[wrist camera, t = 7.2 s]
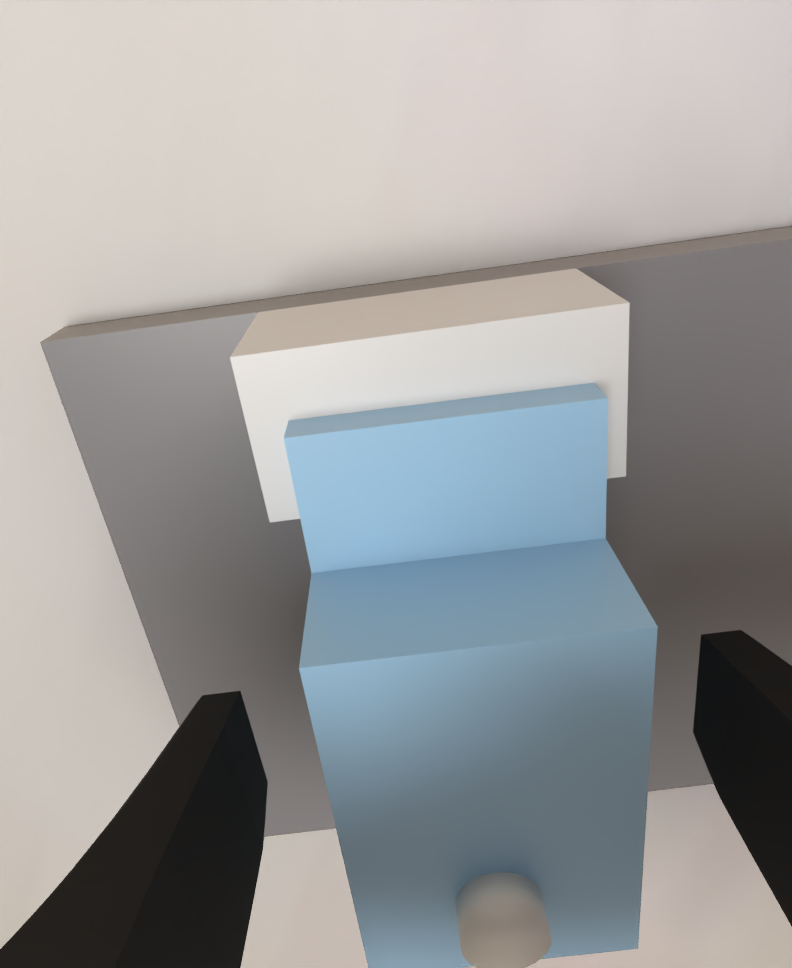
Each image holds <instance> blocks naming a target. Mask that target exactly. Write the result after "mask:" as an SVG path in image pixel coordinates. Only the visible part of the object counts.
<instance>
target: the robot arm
mask: <svg viewBox="0 0 792 968" xmlns="http://www.w3.org/2000/svg"><path fill="white" fill-rule="evenodd" d="M693 734H694V736H695V739H696V741H697V744H698V746H699V749H700V751H701V754H702V756H703V759H704V761H705V764H706V766H707V769H708V771H709V773H710V776H711V778H712V780H713V783H714V785H715V787H716V790H717V792H718V794H719V796H720V798H721V800H722V802H723V804H724V806H725V808H726V809H727V811H728V813H729V815H730V817H731V819H732V820H733V822H734V824H735V826H736V828H737V829H738V831H739V833H740V835H741V837H742V838H743V840H744V842H745V844H746V846H747V848H748V849H749V851H750V853H751V855H752V856H753V858H754V860H755V862H756V864H757V865H758V867H759V869H760V871H761V872H762V874H763V876H764V878H765V880H766V881H767V883H768V885H769V887H770V888H771V890H772V892H773V894H774V896H775V897H776V899H777V901H778V903H779V905H780V906H781V908H782V910H783V912H784V913H785V915H786V917H787V919H788V921H789V922H790V924H791V926H792V666H791V665H790V664H788V663H787V662H786V661H784V660H783V659H782V658H780V657H779V656H777V655H776V654H775V653H773V652H772V651H770V650H769V649H768V648H766V647H765V646H763V645H762V644H761V643H759V642H758V641H756V640H755V639H754V638H752V637H751V636H749V635H748V634H746V633H745V632H743V631H742V630H735V631H726V632H718V633H710V634H702V635H701V640H700V652H699V665H698V677H697V689H696V701H695V713H694V725H693ZM267 787H268V781H267V778H266V774H265V771H264V768H263V764H262V761H261V758H260V754H259V751H258V748H257V744H256V741H255V738H254V734H253V731H252V728H251V724H250V721H249V718H248V714H247V711H246V708H245V704H244V701H243V698H242V694H241V691H234V692H225V693H217V694H209V695H202V696H201V698H200V699H199V700H198V701H197V703H196V704H195V705H194V707H193V708H192V710H191V711H190V712H189V714H188V715H187V717H186V718H185V720H184V721H183V722H182V724H181V725H180V727H179V728H178V730H177V731H176V733H175V734H174V735H173V737H172V738H171V740H170V741H169V743H168V744H167V745H166V747H165V748H164V750H163V751H162V753H161V754H160V755H159V757H158V758H157V760H156V761H155V762H154V764H153V765H152V767H151V768H150V769H149V771H148V772H147V774H146V775H145V776H144V778H143V779H142V780H141V782H140V783H139V784H138V786H137V787H136V788H135V790H134V791H133V792H132V794H131V795H130V796H129V798H128V799H127V801H126V802H125V803H124V805H123V806H122V807H121V809H120V810H119V811H118V813H117V814H116V815H115V817H114V818H113V819H112V820H111V822H110V823H109V824H108V826H107V827H106V828H105V829H104V831H103V832H102V833H101V834H100V835H99V837H98V838H97V839H96V840H95V842H94V843H93V844H92V845H91V847H90V848H89V849H88V850H87V852H86V853H85V854H84V855H83V857H82V858H81V859H80V860H79V861H78V863H77V864H76V865H75V866H74V868H73V869H72V870H71V871H70V873H69V874H68V875H67V876H66V877H65V878H64V880H63V881H62V882H61V883H60V884H59V885H58V887H57V888H56V889H55V890H54V891H53V892H52V894H51V895H50V896H49V897H48V898H47V899H46V900H45V901H44V903H43V904H42V905H41V906H40V907H39V908H38V909H37V910H36V912H35V913H34V914H33V915H32V916H31V917H30V918H29V919H28V920H27V921H26V922H25V924H24V925H23V926H22V927H21V928H20V929H19V930H18V931H17V932H16V933H15V934H14V935H13V937H12V938H11V939H10V940H9V941H8V942H7V943H6V944H5V945H4V946H3V947H2V948H1V949H0V968H240V966H241V961H242V956H243V951H244V946H245V940H246V935H247V930H248V925H249V920H250V915H251V909H252V904H253V899H254V894H255V888H256V883H257V878H258V872H259V867H260V861H261V856H262V850H263V841H264V829H265V817H266V802H267Z"/></svg>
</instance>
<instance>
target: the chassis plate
mask: <svg viewBox="0 0 792 968" xmlns="http://www.w3.org/2000/svg"><path fill="white" fill-rule="evenodd" d="M40 343H41V346H42V349H43V351H44V354H45V357H46V360H47V362H48V365H49V368H50V371H51V373H52V376H53V379H54V382H55V384H56V387H57V390H58V393H59V395H60V398H61V401H62V404H63V406H64V409H65V412H66V415H67V418H68V420H69V423H70V426H71V429H72V431H73V434H74V437H75V440H76V442H77V445H78V448H79V451H80V453H81V456H82V459H83V462H84V464H85V467H86V470H87V473H88V475H89V478H90V481H91V484H92V486H93V489H94V492H95V495H96V498H97V500H98V503H99V506H100V509H101V511H102V514H103V517H104V520H105V522H106V525H107V528H108V531H109V533H110V536H111V539H112V542H113V544H114V547H115V550H116V553H117V555H118V558H119V561H120V564H121V566H122V569H123V572H124V575H125V578H126V580H127V583H128V586H129V589H130V591H131V594H132V597H133V600H134V602H135V605H136V608H137V611H138V613H139V616H140V619H141V622H142V624H143V627H144V630H145V633H146V635H147V638H148V641H149V644H150V646H151V649H152V652H153V655H154V657H155V660H156V663H157V666H158V669H159V671H160V674H161V677H162V680H163V682H164V685H165V688H166V691H167V693H168V696H169V699H170V702H171V704H172V707H173V710H174V713H175V715H176V718H177V721H178V724H179V726H180V725H181V724H182V722H183V721H184V720H185V718H186V717H187V715H188V714H189V712H190V711H191V710H192V708H193V707H194V705H195V704H196V703H197V701H198V700H199V699H200V698H201V696H202V695H209V694H217V693H225V692H234V691H241V694H242V698H243V701H244V704H245V708H246V711H247V714H248V718H249V721H250V724H251V728H252V731H253V734H254V738H255V741H256V744H257V748H258V751H259V754H260V758H261V761H262V764H263V768H264V771H265V774H266V778H267V781H268V787H267V802H266V817H265V829H264V837H266V836H274V835H283V834H291V833H300V832H308V831H317V830H325V829H334V828H336V825H335V821H334V817H333V813H332V808H331V804H330V800H329V795H328V791H327V787H326V783H325V778H324V774H323V770H322V765H321V761H320V757H319V752H318V748H317V744H316V740H315V735H314V731H313V727H312V722H311V718H310V714H309V709H308V705H307V701H306V697H305V692H304V688H303V684H302V679H301V675H300V671H299V664H300V656H301V649H302V641H303V633H304V626H305V618H306V611H307V603H308V596H309V588H310V580H311V568H310V564H309V559H308V554H307V549H306V544H305V539H304V534H303V530H302V525H301V520H300V515H299V510H298V505H297V500H296V496H295V491H294V486H293V481H292V476H291V471H290V467H289V462H288V457H287V452H286V447H285V442H284V435H285V432H286V428H287V425H288V421H289V420H296V419H304V418H312V417H321V416H329V415H337V414H345V413H353V412H361V411H369V410H377V409H385V408H393V407H401V406H409V405H417V404H426V403H434V402H442V401H450V400H458V399H466V398H474V397H482V396H490V395H498V394H506V393H514V392H523V391H531V390H539V389H547V388H555V387H563V386H571V385H579V384H587V383H595V384H596V385H597V386H598V387H599V389H600V390H601V391H602V392H603V393H604V394H605V395H606V396H607V397H608V437H607V491H606V540H607V541H608V543H609V545H610V546H611V548H612V550H613V552H614V553H615V555H616V557H617V558H618V560H619V562H620V563H621V565H622V567H623V569H624V570H625V572H626V574H627V575H628V577H629V579H630V580H631V582H632V584H633V586H634V587H635V589H636V591H637V592H638V594H639V596H640V597H641V599H642V601H643V603H644V604H645V606H646V608H647V609H648V611H649V613H650V615H651V616H652V618H653V620H654V621H655V623H656V625H657V626H658V629H657V645H656V661H655V678H654V694H653V711H652V727H651V743H650V760H649V776H648V791H656V790H664V789H673V788H681V787H690V786H698V785H707V784H714V783H713V780H712V778H711V776H710V773H709V771H708V769H707V766H706V764H705V761H704V759H703V756H702V754H701V751H700V749H699V746H698V744H697V741H696V739H695V736H694V734H693V725H694V713H695V701H696V689H697V677H698V665H699V652H700V640H701V635H702V634H710V633H718V632H726V631H735V630H742V631H743V632H745V633H746V634H748V635H749V636H751V637H752V638H754V639H755V640H756V641H758V642H759V643H761V644H762V645H763V646H765V647H766V648H768V649H769V650H770V651H772V652H773V653H775V654H776V655H777V656H779V657H780V658H782V659H783V660H784V661H786V662H787V663H788V664H790V665H791V666H792V226H789V227H782V228H775V229H768V230H760V231H753V232H746V233H739V234H732V235H724V236H717V237H710V238H703V239H696V240H688V241H681V242H674V243H667V244H659V245H652V246H645V247H638V248H631V249H623V250H616V251H609V252H602V253H595V254H587V255H580V256H573V257H566V258H558V259H551V260H544V261H537V262H530V263H522V264H515V265H508V266H501V267H494V268H486V269H479V270H472V271H465V272H457V273H450V274H443V275H436V276H429V277H421V278H414V279H407V280H400V281H393V282H385V283H378V284H371V285H364V286H356V287H349V288H342V289H335V290H328V291H320V292H313V293H306V294H299V295H292V296H284V297H277V298H270V299H263V300H255V301H248V302H241V303H234V304H227V305H219V306H212V307H205V308H198V309H191V310H183V311H176V312H169V313H162V314H154V315H147V316H140V317H133V318H126V319H118V320H111V321H104V322H97V323H90V324H82V325H75V326H68V327H64V328H62V329H61V330H59V331H58V332H56V333H54V334H53V335H51V336H50V337H48V338H46V339H45V340H43V341H42V342H40Z"/></svg>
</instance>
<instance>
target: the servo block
mask: <svg viewBox="0 0 792 968" xmlns="http://www.w3.org/2000/svg"><path fill="white" fill-rule="evenodd" d="M607 437H608V397H607V396H606V395H605V394H604V393H603V392H602V391H601V390H600V389H599V387H598V386H597V385H596V384H595V383H587V384H579V385H571V386H563V387H555V388H547V389H539V390H531V391H523V392H514V393H506V394H498V395H490V396H482V397H474V398H466V399H458V400H450V401H442V402H434V403H426V404H417V405H409V406H401V407H393V408H385V409H377V410H369V411H361V412H353V413H345V414H337V415H329V416H321V417H312V418H304V419H296V420H289V421H288V425H287V428H286V432H285V435H284V442H285V447H286V452H287V457H288V462H289V467H290V471H291V476H292V481H293V486H294V491H295V496H296V500H297V505H298V510H299V515H300V520H301V525H302V530H303V534H304V539H305V544H306V549H307V554H308V559H309V564H310V568H311V580H310V588H309V596H308V603H307V611H306V618H305V626H304V633H303V641H302V649H301V656H300V664H299V671H300V675H301V679H302V684H303V688H304V692H305V697H306V701H307V705H308V709H309V714H310V718H311V722H312V727H313V731H314V735H315V740H316V744H317V748H318V752H319V757H320V761H321V765H322V770H323V774H324V778H325V783H326V787H327V791H328V795H329V800H330V804H331V808H332V813H333V817H334V821H335V825H336V830H337V834H338V838H339V843H340V847H341V851H342V856H343V860H344V864H345V868H346V873H347V877H348V881H349V886H350V890H351V894H352V899H353V903H354V907H355V911H356V916H357V920H358V924H359V929H360V933H361V937H362V941H363V946H364V950H365V954H366V959H367V963H368V967H369V968H460V967H470V966H476V967H478V968H524V967H527V966H529V965H531V964H533V963H535V962H537V961H538V960H540V959H545V958H555V957H564V956H574V955H583V954H593V953H602V952H611V951H621V950H630V949H638V940H639V923H640V907H641V891H642V874H643V858H644V841H645V825H646V809H647V792H648V776H649V760H650V743H651V727H652V711H653V694H654V678H655V661H656V645H657V629H658V626H657V625H656V623H655V621H654V620H653V618H652V616H651V615H650V613H649V611H648V609H647V608H646V606H645V604H644V603H643V601H642V599H641V597H640V596H639V594H638V592H637V591H636V589H635V587H634V586H633V584H632V582H631V580H630V579H629V577H628V575H627V574H626V572H625V570H624V569H623V567H622V565H621V563H620V562H619V560H618V558H617V557H616V555H615V553H614V552H613V550H612V548H611V546H610V545H609V543H608V541H607V540H606V491H607Z"/></svg>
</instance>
